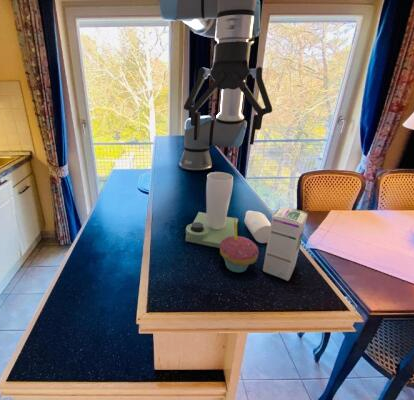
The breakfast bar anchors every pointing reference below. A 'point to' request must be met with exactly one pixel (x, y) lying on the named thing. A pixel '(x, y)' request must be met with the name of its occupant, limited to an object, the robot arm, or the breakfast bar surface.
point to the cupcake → (238, 251)
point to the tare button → (197, 227)
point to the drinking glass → (218, 199)
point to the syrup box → (284, 242)
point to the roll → (258, 225)
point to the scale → (210, 232)
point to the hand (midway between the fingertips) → (223, 141)
